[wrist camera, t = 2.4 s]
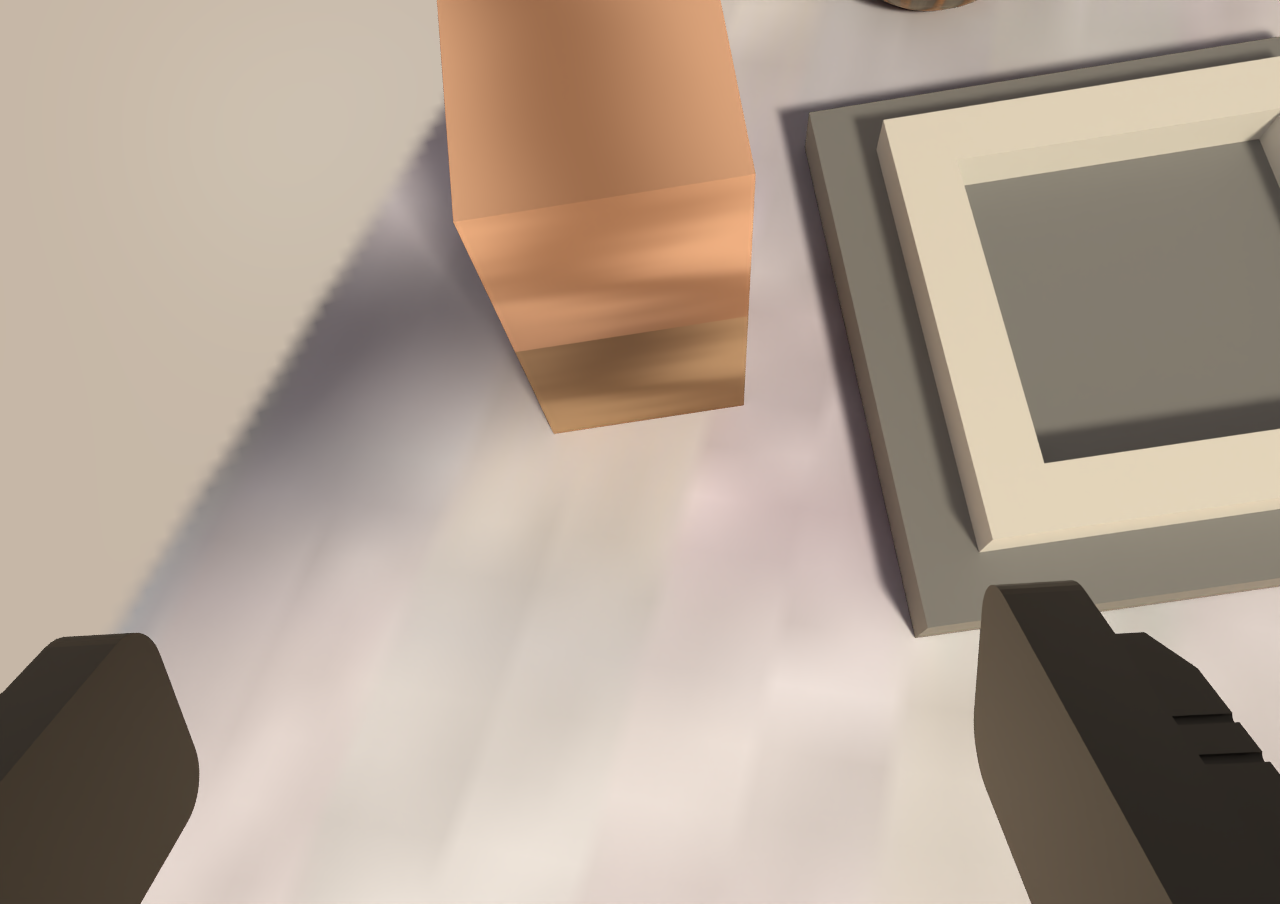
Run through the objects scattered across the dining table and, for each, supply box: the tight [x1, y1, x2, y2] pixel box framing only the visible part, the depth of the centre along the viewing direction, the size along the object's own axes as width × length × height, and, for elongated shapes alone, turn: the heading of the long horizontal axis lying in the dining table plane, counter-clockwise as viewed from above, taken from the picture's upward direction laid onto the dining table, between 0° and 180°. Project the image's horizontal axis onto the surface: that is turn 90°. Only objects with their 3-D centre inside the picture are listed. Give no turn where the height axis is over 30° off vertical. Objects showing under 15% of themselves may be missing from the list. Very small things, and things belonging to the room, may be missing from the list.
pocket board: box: [805, 37, 1280, 638], centre depth 24 cm, size 14×14×3 cm
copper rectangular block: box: [437, 0, 755, 434], centre depth 21 cm, size 5×5×10 cm
